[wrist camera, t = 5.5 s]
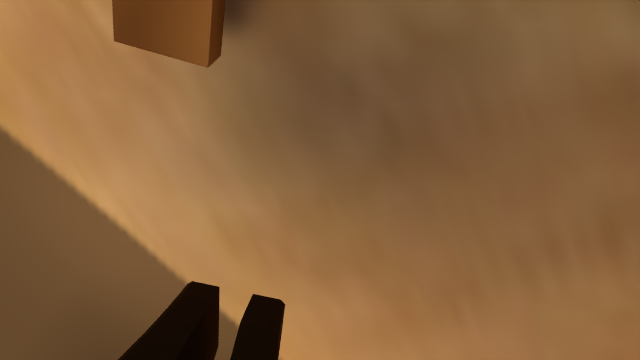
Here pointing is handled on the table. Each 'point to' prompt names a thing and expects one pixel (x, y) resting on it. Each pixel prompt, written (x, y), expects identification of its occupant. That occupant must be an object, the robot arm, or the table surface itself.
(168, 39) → the catapult lever
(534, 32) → the table surface
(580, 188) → the table surface
